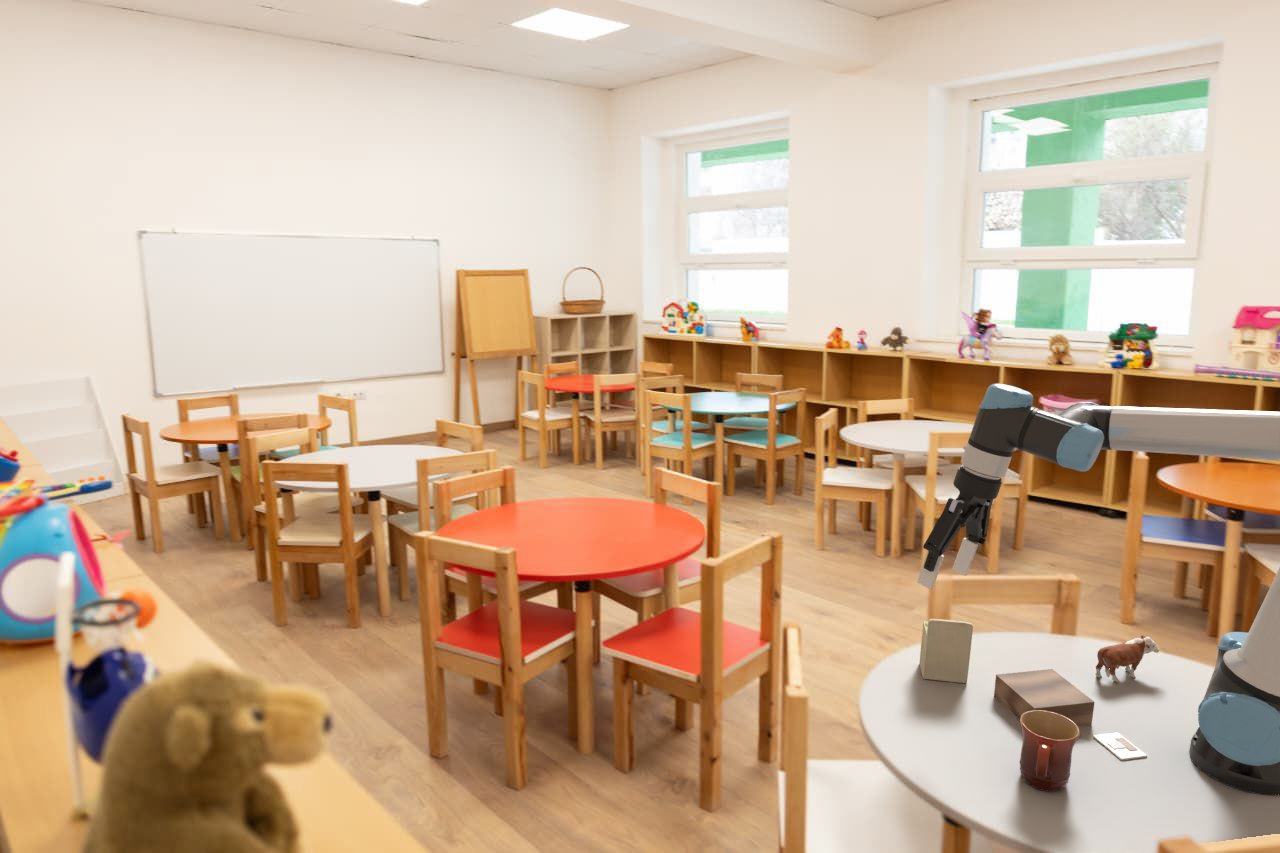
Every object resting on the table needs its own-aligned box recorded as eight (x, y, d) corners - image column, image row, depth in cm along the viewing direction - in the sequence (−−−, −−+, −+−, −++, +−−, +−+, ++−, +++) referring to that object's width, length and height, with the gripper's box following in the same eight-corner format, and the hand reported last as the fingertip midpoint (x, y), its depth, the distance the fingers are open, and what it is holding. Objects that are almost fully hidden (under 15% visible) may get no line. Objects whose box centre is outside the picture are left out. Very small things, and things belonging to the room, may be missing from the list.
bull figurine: (1159, 677, 171) (1164, 640, 169) (1102, 685, 168) (1107, 648, 166) (1142, 666, 175) (1147, 630, 173) (1086, 675, 172) (1091, 638, 170)
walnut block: (1091, 726, 155) (1094, 701, 154) (1031, 733, 153) (1034, 708, 152) (1049, 692, 167) (1052, 668, 165) (993, 697, 165) (996, 674, 163)
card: (1147, 757, 145) (1147, 754, 145) (1121, 760, 145) (1121, 758, 144) (1117, 733, 152) (1117, 731, 152) (1092, 736, 151) (1093, 734, 151)
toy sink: (961, 666, 176) (967, 607, 173) (967, 684, 169) (973, 623, 166) (918, 662, 178) (923, 604, 175) (923, 680, 171) (927, 620, 168)
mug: (1018, 758, 145) (1024, 704, 143) (1075, 774, 141) (1082, 719, 139) (1006, 797, 135) (1012, 740, 133) (1067, 816, 131) (1075, 757, 129)
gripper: (991, 457, 159) (954, 558, 165) (928, 469, 142) (890, 581, 148) (1030, 473, 154) (991, 576, 160) (969, 487, 137) (928, 602, 143)
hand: (942, 578), depth 154 cm, fingers open, 13 cm apart
